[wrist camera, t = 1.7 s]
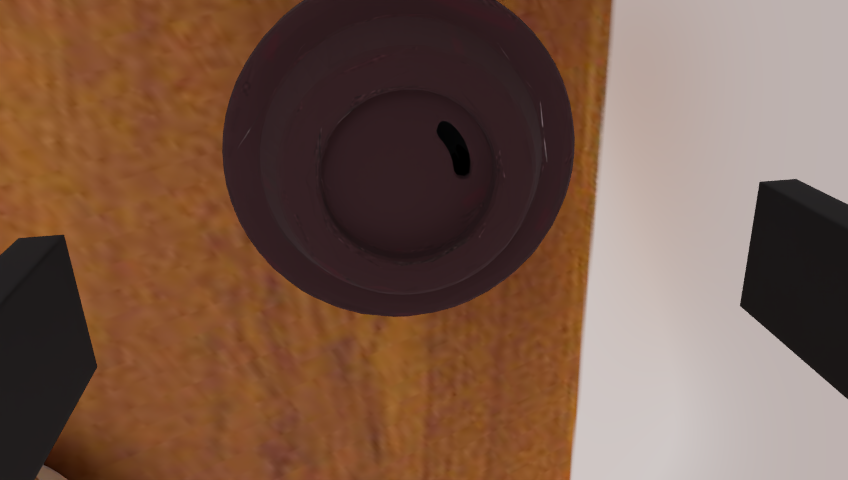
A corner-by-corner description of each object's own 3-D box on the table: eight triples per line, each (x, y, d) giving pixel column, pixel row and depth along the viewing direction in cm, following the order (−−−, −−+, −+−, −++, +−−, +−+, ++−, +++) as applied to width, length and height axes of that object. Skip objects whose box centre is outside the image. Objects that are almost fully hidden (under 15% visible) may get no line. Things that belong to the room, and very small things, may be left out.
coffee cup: (257, 169, 33) (203, 331, 19) (275, -57, 29) (224, -59, 15) (462, 194, 35) (547, 358, 21) (503, -18, 31) (639, 13, 17)
